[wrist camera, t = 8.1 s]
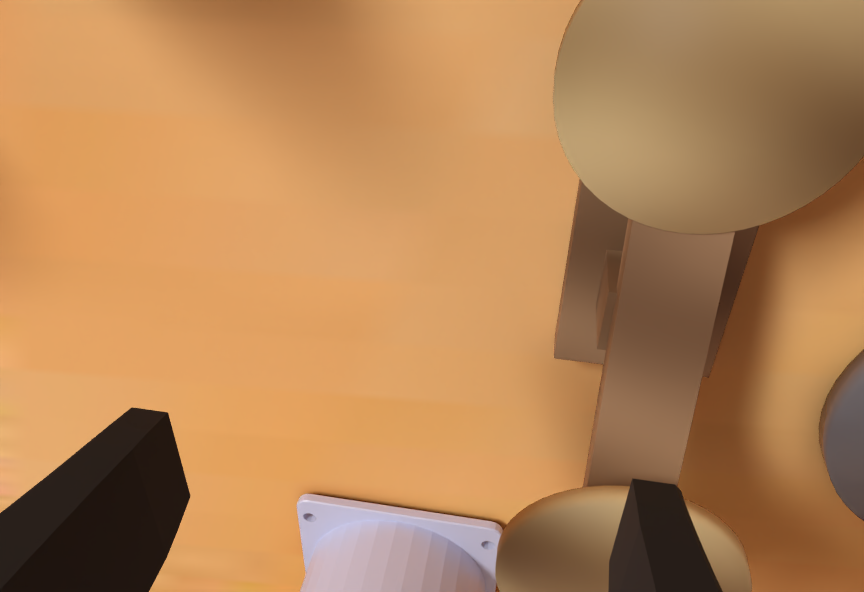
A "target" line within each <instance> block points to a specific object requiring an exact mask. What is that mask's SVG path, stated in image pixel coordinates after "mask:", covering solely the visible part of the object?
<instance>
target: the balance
mask: <svg viewBox="0 0 864 592" xmlns="http://www.w3.org/2000/svg"><path fill="white" fill-rule="evenodd" d="M553 105H554V118H555V123H556V128H557V132H558V136H559V140H560V142H561V145H562V148H563V150H564V153H565V155H566V157H567V159H568V161H569V163H570V164H571V166H572V168H573V170H574V171H575V173H576V174H577V175H578V177H579V178H580V180H579V187H578V193H577V199H576V206H575V212H574V218H573V225H572V231H571V237H570V244H569V250H568V257H567V263H566V269H565V276H564V282H563V288H562V295H561V301H560V307H559V314H558V320H557V327H556V333H555V344H554V358H556V359H564V360H572V361H580V362H588V363H596V364H604V365H603V371H602V377H601V383H600V389H599V395H598V401H597V406H596V412H595V418H594V424H593V430H592V436H591V442H590V448H589V454H588V460H587V466H586V472H585V478H584V483H583V488H577V489H571V490H567V491H563V492H559V493H556V494H553V495H550V496H548V497H545V498H542V499H540V500H538V501H536V502H534V503H532V504H531V505H529V506H527V507H526V508H524V509H523V510H522V511H520V512H519V513H518V514H517V515H516V516H515V517H513V518H512V519H511V520H510V522H509V523H508V524H507V526H506V527H505V528H504V530H503V532H502V534H501V536H500V539H499V543H498V548H497V557H496V566H495V577H496V582H497V586H498V588H499V591H500V592H608V587H609V560H610V556H611V553H612V549H613V545H614V542H615V538H616V535H617V531H618V528H619V524H620V520H621V517H622V513H623V510H624V506H625V503H626V499H627V495H628V492H629V488H630V485H631V481H632V478H633V479H640V480H647V481H654V482H661V483H668V484H675V485H676V486H677V485H678V481H679V476H680V472H681V468H682V463H683V459H684V454H685V450H686V446H687V441H688V437H689V432H690V428H691V423H692V419H693V415H694V410H695V406H696V401H697V397H698V393H699V388H700V384H701V379H702V377H709V375H710V372H711V369H712V366H713V363H714V360H715V357H716V354H717V351H718V348H719V345H720V342H721V339H722V336H723V333H724V330H725V327H726V324H727V321H728V318H729V315H730V312H731V309H732V306H733V303H734V300H735V297H736V294H737V291H738V288H739V285H740V282H741V279H742V276H743V273H744V270H745V267H746V264H747V261H748V258H749V255H750V252H751V249H752V246H753V243H754V240H755V237H756V233H757V230H758V227H759V225H762V224H765V223H768V222H770V221H773V220H776V219H778V218H781V217H784V216H786V215H788V214H790V213H792V212H794V211H796V210H798V209H800V208H802V207H804V206H805V205H807V204H808V203H810V202H811V201H813V200H815V199H816V198H818V197H819V196H821V195H822V194H824V193H825V192H826V191H827V190H829V189H830V188H831V187H833V186H834V185H835V184H836V183H838V182H839V181H840V180H841V179H842V178H843V177H844V176H845V175H846V174H847V173H848V172H849V171H850V170H851V169H852V168H853V167H855V166H856V165H857V163H858V162H859V161H860V160H861V158H862V157H863V156H864V0H581V1H580V2H579V4H578V5H577V7H576V9H575V11H574V13H573V15H572V17H571V19H570V21H569V23H568V25H567V27H566V30H565V33H564V36H563V39H562V42H561V45H560V48H559V52H558V57H557V62H556V68H555V76H554V92H553ZM684 501H685V504H686V507H687V509H688V512H689V515H690V517H691V520H692V522H693V525H694V527H695V530H696V532H697V535H698V537H699V539H700V542H701V544H702V547H703V549H704V551H705V553H706V556H707V558H708V560H709V562H710V565H711V567H712V569H713V571H714V574H715V576H716V578H717V580H718V582H719V585H720V587H721V589H722V591H723V592H752V582H751V575H750V570H749V565H748V560H747V556H746V553H745V550H744V547H743V545H742V543H741V542H740V540H739V538H738V536H737V535H736V534H735V533H734V532H733V530H732V529H731V528H730V527H729V526H728V525H727V524H726V523H724V522H723V521H722V520H721V519H720V518H719V517H717V516H716V515H714V514H713V513H711V512H710V511H708V510H707V509H705V508H703V507H701V506H699V505H697V504H695V503H693V502H691V501H688V500H686V499H684Z"/></svg>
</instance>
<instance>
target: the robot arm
mask: <svg viewBox="0 0 864 592" xmlns="http://www.w3.org/2000/svg"><path fill="white" fill-rule="evenodd" d="M189 498H190V493H189V489H188V486H187V482H186V478H185V475H184V471H183V467H182V463H181V460H180V456H179V452H178V448H177V445H176V441H175V437H174V434H173V430H172V426H171V422H170V419H169V415H168V413H167V412H160V411H153V410H146V409H139V408H131V409H129V410H128V411H127V412H126V413H124V414H123V415H122V416H121V417H119V418H118V419H117V420H116V421H114V422H113V423H112V424H111V425H109V426H108V427H107V428H106V429H104V430H103V431H102V432H101V433H99V434H98V435H97V436H96V437H95V438H93V439H92V440H91V441H90V442H88V443H87V444H86V445H85V446H84V447H82V448H81V449H80V450H79V451H78V452H76V453H75V454H74V455H73V456H71V457H70V458H69V459H68V460H66V461H65V462H64V463H63V464H62V465H60V466H59V467H58V468H57V469H55V470H54V471H53V472H52V473H51V474H49V475H48V476H47V477H46V478H44V479H43V480H42V481H40V482H39V483H38V484H37V485H35V486H34V487H33V488H32V489H30V490H29V491H28V492H27V493H25V494H24V495H23V496H22V497H20V498H19V499H18V500H16V501H15V502H14V503H13V504H11V505H10V506H9V507H8V508H6V509H5V510H4V511H2V512H1V513H0V592H149V590H150V588H151V586H152V584H153V583H154V581H155V579H156V577H157V575H158V573H159V571H160V569H161V567H162V565H163V563H164V561H165V560H166V558H167V555H168V553H169V550H170V548H171V545H172V543H173V541H174V538H175V536H176V533H177V531H178V528H179V525H180V523H181V520H182V517H183V515H184V512H185V509H186V507H187V504H188V501H189ZM297 512H298V520H299V527H300V534H301V542H302V549H303V556H304V564H305V571H306V575H305V578H304V581H303V584H302V587H301V590H300V592H495V591H496V583H497V582H496V577H495V566H496V557H497V548H498V543H499V539H500V536H501V534H502V532H503V529H502V527H501V526H500V525H499V524H497V523H496V522H492V521H487V520H480V519H473V518H467V517H460V516H454V515H447V514H441V513H434V512H427V511H421V510H414V509H408V508H401V507H394V506H388V505H381V504H375V503H368V502H362V501H355V500H348V499H342V498H335V497H329V496H322V495H315V494H304V495H302V496H300V498H299V500H298V503H297ZM608 592H723V591H722V589H721V587H720V585H719V582H718V580H717V578H716V576H715V574H714V571H713V569H712V567H711V565H710V562H709V560H708V558H707V556H706V553H705V551H704V549H703V547H702V544H701V542H700V539H699V537H698V535H697V532H696V530H695V527H694V525H693V522H692V520H691V517H690V515H689V512H688V509H687V507H686V504H685V501H684V499H683V496H682V493H681V491H680V490H679V488H678V487H677V486H676V485H675V484H668V483H661V482H654V481H647V480H640V479H633V478H632V481H631V485H630V488H629V492H628V495H627V499H626V503H625V506H624V510H623V513H622V517H621V520H620V524H619V528H618V531H617V535H616V538H615V542H614V545H613V549H612V553H611V556H610V560H609V587H608Z"/></svg>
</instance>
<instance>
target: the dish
mask: <svg viewBox="0 0 864 592" xmlns="http://www.w3.org/2000/svg"><path fill="white" fill-rule="evenodd" d="M819 443H820V447H821V451H822V455H823V458H824V461H825V464H826V467H827V470H828V473H829V476H830V479H831V481H832V484H833V486H834V488H835V490H836V492H837V494H838V495H839V497H840V498H841V499H842V501H843V502H844V503H845V505H846V506H847V507H848V508H849V509H850V510H851V511H852V512H853V513H855V514H856V515H857V516H858V517H859V518H861V519H862V520H863V521H864V350H863V351H862V352H861V353H860V354H859V355H858V356H857V357H856V358H855V359H854V360H853V361H852V362H851V363H850V364H849V365H848V366H847V367H846V368H845V370H844V371H843V372H842V374H841V375H840V376H839V377H838V379H837V380H836V382H835V383H834V385H833V387H832V389H831V390H830V392H829V394H828V396H827V398H826V401H825V404H824V406H823V409H822V412H821V417H820V423H819Z"/></svg>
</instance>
